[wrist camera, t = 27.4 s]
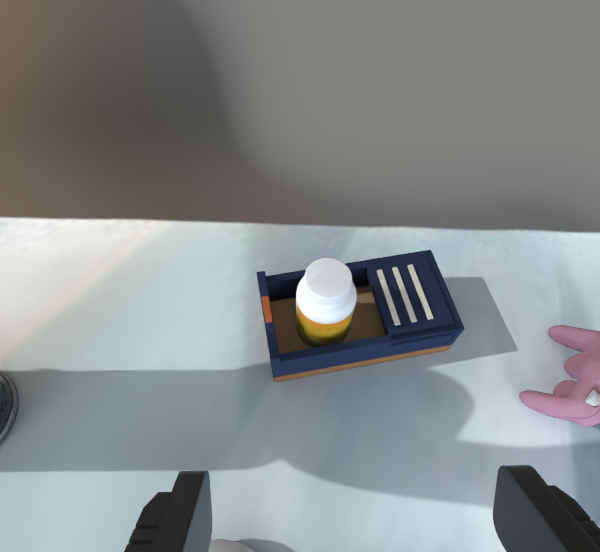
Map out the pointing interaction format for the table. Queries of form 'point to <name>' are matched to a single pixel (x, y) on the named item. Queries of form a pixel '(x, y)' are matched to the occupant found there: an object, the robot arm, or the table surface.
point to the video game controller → (569, 394)
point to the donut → (228, 546)
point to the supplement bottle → (325, 303)
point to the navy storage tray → (365, 317)
